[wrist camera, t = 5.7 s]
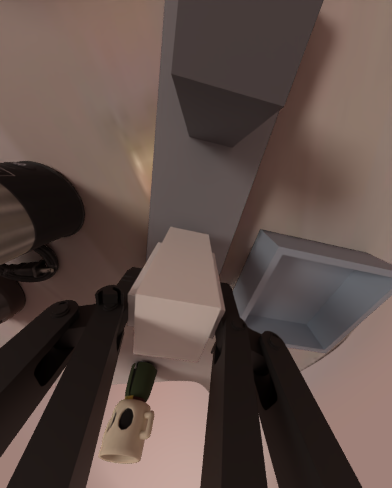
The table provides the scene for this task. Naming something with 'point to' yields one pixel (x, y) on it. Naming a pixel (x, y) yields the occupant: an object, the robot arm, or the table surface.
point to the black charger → (237, 62)
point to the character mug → (130, 419)
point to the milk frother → (34, 217)
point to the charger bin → (309, 290)
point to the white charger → (177, 299)
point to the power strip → (197, 167)
